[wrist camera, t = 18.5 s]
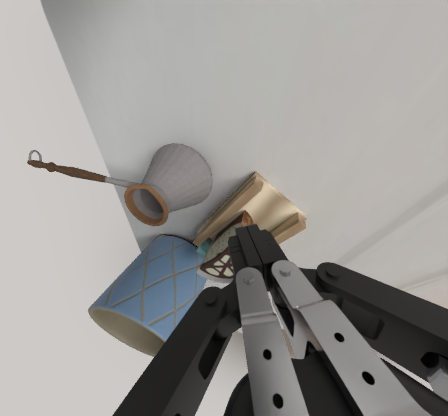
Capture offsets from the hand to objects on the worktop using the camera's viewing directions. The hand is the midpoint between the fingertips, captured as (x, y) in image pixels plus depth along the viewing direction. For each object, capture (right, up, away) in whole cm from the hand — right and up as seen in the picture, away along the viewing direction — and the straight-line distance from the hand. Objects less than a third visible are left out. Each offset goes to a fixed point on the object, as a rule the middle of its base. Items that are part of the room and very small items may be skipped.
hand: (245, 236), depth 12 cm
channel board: (+3, -1, +24) cm, 24 cm away
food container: (+2, -3, +24) cm, 24 cm away
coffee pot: (-13, +11, +21) cm, 27 cm away
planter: (-14, -12, +37) cm, 41 cm away
